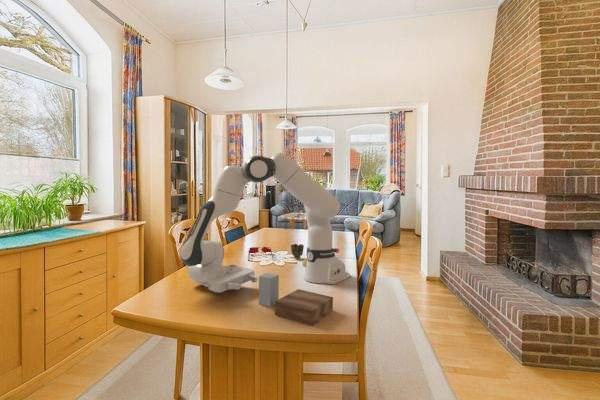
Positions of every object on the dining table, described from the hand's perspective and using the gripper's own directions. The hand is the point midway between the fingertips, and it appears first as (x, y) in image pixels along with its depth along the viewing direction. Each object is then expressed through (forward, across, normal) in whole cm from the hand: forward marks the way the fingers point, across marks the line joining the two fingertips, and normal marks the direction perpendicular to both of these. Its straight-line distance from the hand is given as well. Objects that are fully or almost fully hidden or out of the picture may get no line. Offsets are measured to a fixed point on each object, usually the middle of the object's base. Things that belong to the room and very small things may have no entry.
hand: (248, 283), depth 116 cm
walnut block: (+24, 0, +6) cm, 25 cm away
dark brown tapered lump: (-16, +61, +6) cm, 64 cm away
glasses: (-35, +52, +6) cm, 63 cm away
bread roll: (-3, +53, +6) cm, 54 cm away
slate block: (+10, 0, +6) cm, 11 cm away
